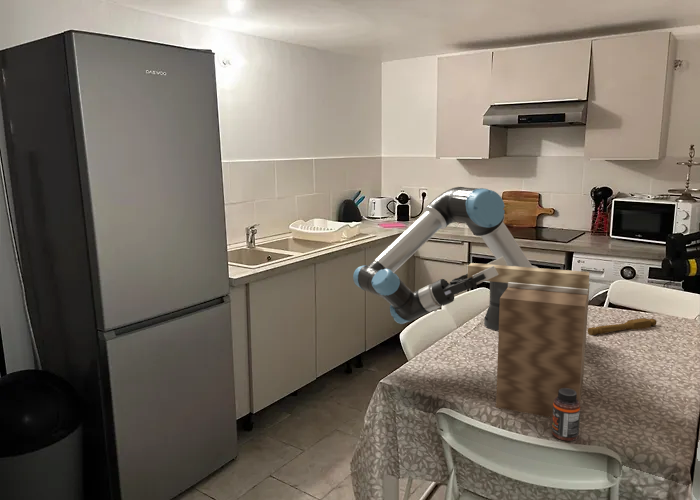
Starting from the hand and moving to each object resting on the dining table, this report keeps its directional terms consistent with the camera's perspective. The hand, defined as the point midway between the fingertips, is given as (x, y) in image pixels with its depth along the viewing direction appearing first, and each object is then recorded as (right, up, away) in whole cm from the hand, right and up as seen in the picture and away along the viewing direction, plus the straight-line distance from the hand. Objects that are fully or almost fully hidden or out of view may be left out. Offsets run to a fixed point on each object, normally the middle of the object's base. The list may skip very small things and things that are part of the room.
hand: (500, 265), depth 156 cm
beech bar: (+6, -5, -2) cm, 8 cm away
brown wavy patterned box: (+10, -36, -4) cm, 37 cm away
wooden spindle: (+58, -26, +48) cm, 79 cm away
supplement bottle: (+9, -40, -25) cm, 48 cm away
